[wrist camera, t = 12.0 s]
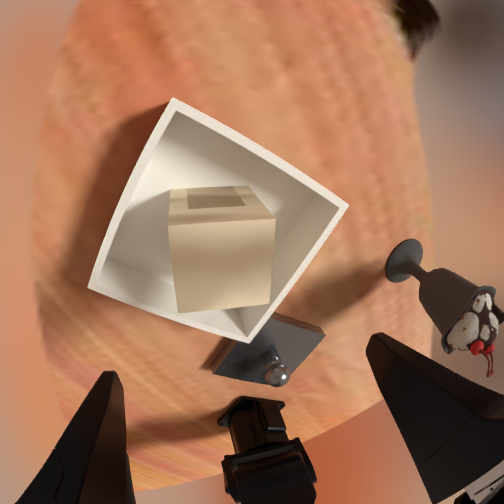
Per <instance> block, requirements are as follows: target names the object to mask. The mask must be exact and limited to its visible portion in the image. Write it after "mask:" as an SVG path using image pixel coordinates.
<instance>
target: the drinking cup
mask: <svg viewBox="0 0 504 504" xmlns="http://www.w3.org/2000/svg"><path fill="white" fill-rule="evenodd" d="M126 481H127V504H136V501H135V496H134V491H133V485H132V479H131V472H130V465H129V458H128V455H127V454H126Z"/></svg>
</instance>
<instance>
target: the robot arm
mask: <svg viewBox="0 0 504 504" xmlns="http://www.w3.org/2000/svg"><path fill="white" fill-rule="evenodd" d="M366 356H367V358H368V361H369V364H370V366H371V369H372V371H373V374H374V377H375V379H376V382H377V384H378V387H379V389H380V391H381V393H382V395H383V397H384V399H385V401H386V403H387V405H388V407H389V409H390V411H391V413H392V415H393V418H394V419H395V422H396V424H397V426H398V428H399V430H400V432H401V434H402V436H403V439H404V441H405V443H406V445H407V447H408V449H409V452H410V454H411V456H412V458H413V460H414V463H415V465H416V467H417V469H418V472H419V474H420V476H421V479H422V481H423V483H424V486H425V488H426V490H427V493H428V495H429V497H430V500H431V502H432V504H437V503H439V502H441V501H443V500H445V499H446V498H448V497H450V496H451V495H453V494H455V493H457V492H458V491H460V490H462V489H463V488H464V489H465V490H466V491H465V492H463V493H462V494H461V495H460V496H458V497H457V498H456V499H455V501H454V504H504V395H502V394H500V393H497V392H495V391H493V390H490V389H488V388H486V387H483V386H481V385H479V384H476V383H474V382H472V381H470V380H468V379H466V378H464V377H462V376H461V375H459V374H457V373H454V372H453V371H451V370H450V369H448V368H446V367H444V366H442V365H441V364H439V363H437V362H435V361H433V360H431V359H430V358H428V357H426V356H424V355H422V354H421V353H419V352H417V351H415V350H413V349H412V348H410V347H408V346H406V345H404V344H403V343H401V342H399V341H397V340H395V339H394V338H392V337H390V336H388V335H386V334H385V333H382V332H379V333H376V334H373V335H372V336H371V338H370V340H369V343H368V345H367V348H366ZM284 407H285V403H284V402H282V401H274V400H266V399H258V398H251V397H241V398H240V399H239V400H238V401H237V402H236V403H235V404H234V405H233V406H232V407H231V408H230V409H229V410H228V411H227V412H226V413H225V414H224V415H223V416H222V417H221V418H220V419H219V420H218V421H217V423H218V425H219V426H226V427H229V430H230V434H231V438H232V442H233V446H234V450H235V454H233V455H225V456H224V460H223V461H221V463H222V468H223V473H224V482H225V491H226V493H227V494H229V495H231V496H232V498H233V499H234V501H235V502H236V503H237V504H238V503H241V504H314V502H315V499H316V491H315V488H314V486H313V484H314V483H316V482H317V479H316V475H315V471H314V469H313V466H312V463H311V461H310V459H309V457H308V455H307V453H306V451H305V449H304V447H303V445H302V443H301V441H300V439H299V437H297V438H294V439H293V440H289V439H288V437H287V434H286V431H285V430H286V426H285V423H284V421H283V418H282V415H281V413H280V410H281V409H282V408H284ZM15 504H127V481H126V420H125V406H124V391H123V386H122V384H121V381H120V379H119V377H118V375H117V373H116V372H115V371H104V372H103V373H102V374H101V375H100V377H99V378H98V380H97V381H96V383H95V384H94V386H93V387H92V389H91V390H90V392H89V393H88V395H87V397H86V398H85V400H84V401H83V403H82V404H81V406H80V407H79V409H78V410H77V412H76V414H75V415H74V417H73V418H72V420H71V421H70V423H69V425H68V426H67V428H66V429H65V431H64V433H63V435H62V436H61V438H60V439H59V441H58V443H57V444H56V446H55V449H53V451H52V452H51V454H50V456H49V458H48V459H47V461H46V462H45V464H44V465H43V467H42V468H41V470H40V471H39V473H38V474H37V475H36V477H35V478H34V480H33V481H32V482H31V483H30V485H29V486H28V487H27V489H26V490H25V491H24V493H23V494H22V495H21V497H20V498H19V499H18V501H17V502H16V503H15Z"/></svg>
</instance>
